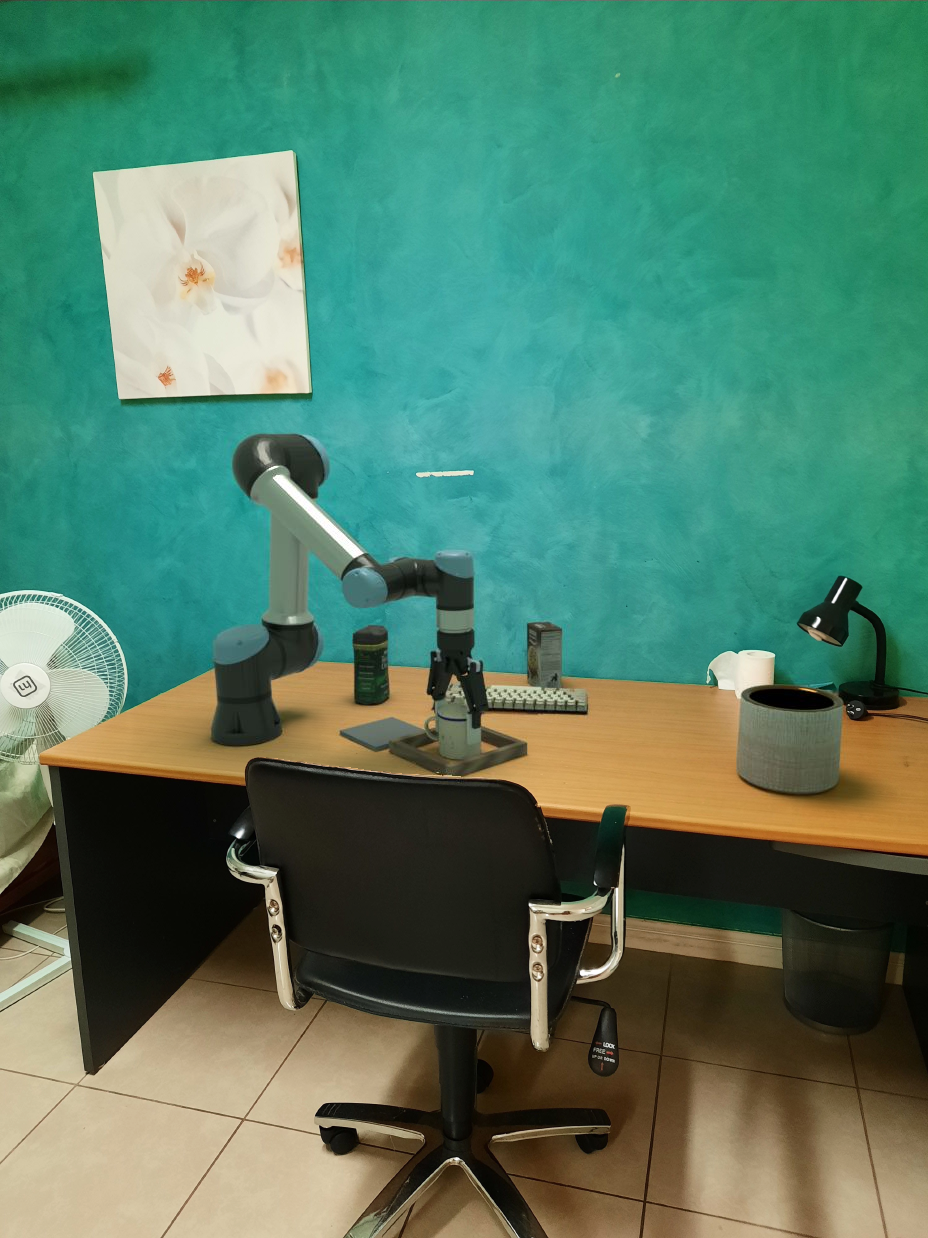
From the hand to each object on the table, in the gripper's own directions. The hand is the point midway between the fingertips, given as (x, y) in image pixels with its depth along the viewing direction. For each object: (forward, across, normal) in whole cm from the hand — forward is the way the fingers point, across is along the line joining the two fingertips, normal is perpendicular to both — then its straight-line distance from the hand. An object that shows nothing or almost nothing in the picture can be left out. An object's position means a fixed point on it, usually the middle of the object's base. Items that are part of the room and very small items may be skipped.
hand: (457, 736), depth 171 cm
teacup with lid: (+4, +1, 0) cm, 4 cm away
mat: (+4, +19, +5) cm, 20 cm away
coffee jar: (+4, +43, -8) cm, 44 cm away
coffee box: (+4, +23, -48) cm, 53 cm away
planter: (+4, -51, -37) cm, 63 cm away
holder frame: (+4, 0, 0) cm, 4 cm away
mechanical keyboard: (+4, +18, -32) cm, 37 cm away
